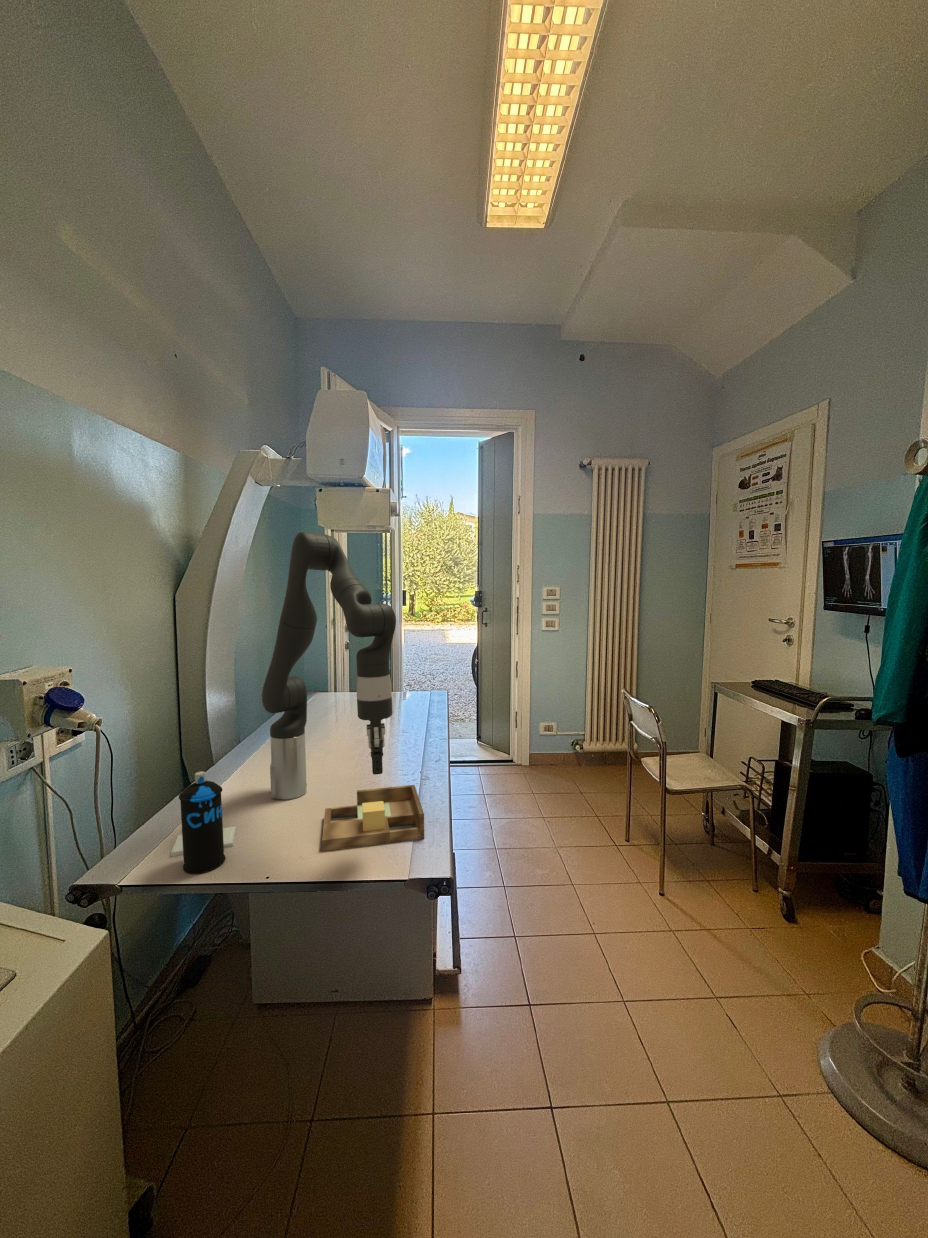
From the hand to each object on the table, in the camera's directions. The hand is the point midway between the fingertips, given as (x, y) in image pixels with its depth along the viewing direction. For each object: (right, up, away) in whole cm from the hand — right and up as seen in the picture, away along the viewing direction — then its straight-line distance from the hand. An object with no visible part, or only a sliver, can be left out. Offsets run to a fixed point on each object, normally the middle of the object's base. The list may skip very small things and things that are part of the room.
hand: (377, 773), depth 111 cm
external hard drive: (-41, -19, +6) cm, 45 cm away
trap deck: (-4, -17, +12) cm, 21 cm away
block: (-2, -15, +9) cm, 17 cm away
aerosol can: (-37, -19, -3) cm, 41 cm away
